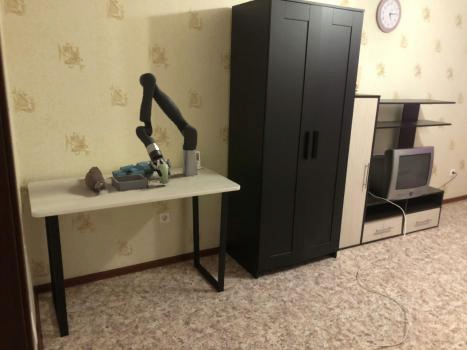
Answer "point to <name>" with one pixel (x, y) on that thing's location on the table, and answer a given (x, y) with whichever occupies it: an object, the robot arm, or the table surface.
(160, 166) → the pale green rounded knob
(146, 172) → the toy
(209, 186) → the table surface
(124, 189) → the bin
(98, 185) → the cassava root
